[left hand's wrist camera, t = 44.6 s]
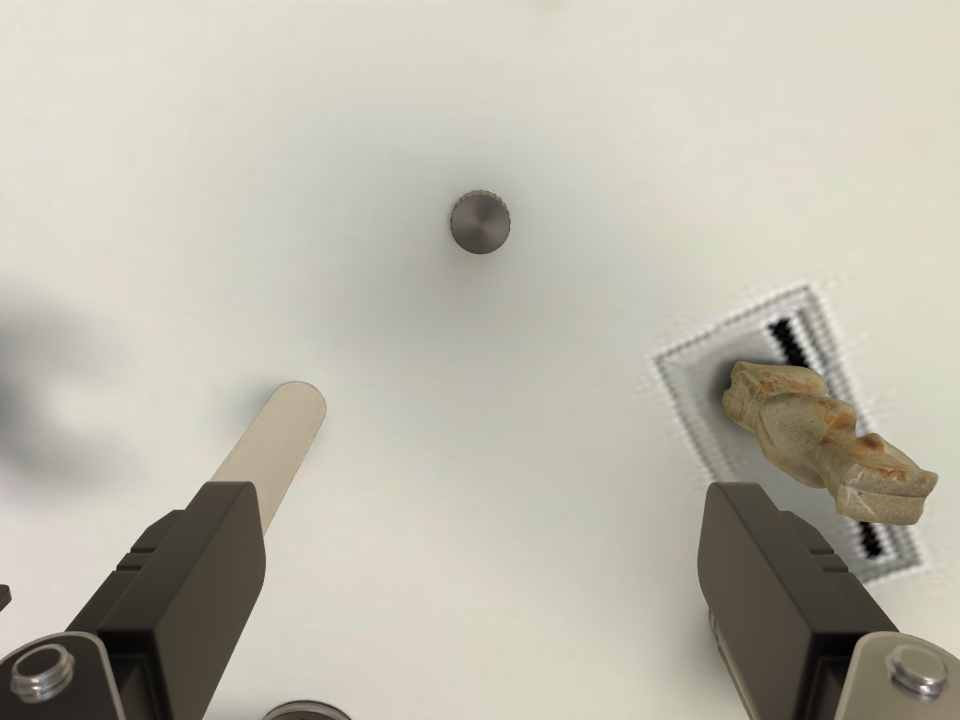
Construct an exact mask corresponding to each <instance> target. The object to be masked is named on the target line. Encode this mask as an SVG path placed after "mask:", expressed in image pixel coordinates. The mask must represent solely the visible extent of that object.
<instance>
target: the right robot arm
mask: <svg viewBox="0 0 960 720" xmlns="http://www.w3.org/2000/svg"><path fill="white" fill-rule="evenodd" d="M11 600H12V597H11V593H10V589H9V586H7V585H1V584H0V612H1V611H2V610H3V609H4V608H5V607H6V606H7V605H8V603H9V602H10V601H11ZM264 720H349V719H348V718H347V717H346V716H345V715H343V714H342V713H340V712H339V711H337V710H335V709H333V708H331V707H328V706H325V705H322V704H317V703H310V702H299V703H292V704H287V705H284V706H281V707H279V708H277V709H275V710H274V711H272V712H271V713H269V714H268V715H267V716H266V717H265V719H264Z"/></svg>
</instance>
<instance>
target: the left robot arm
mask: <svg viewBox="0 0 960 720" xmlns="http://www.w3.org/2000/svg"><path fill="white" fill-rule="evenodd" d="M697 564H698V576H699V582H700V586H701V589H702V592H703V595H704V597H705V599H706V601H707V603H708V605H709V608H710V624H711V627H712V630H713V632H714V634H715V637H716V639H717V641H718V642H719V647H718V649H719V652H720V654H721V656H722V658H723V661H724V663H725V665H726V667H727V670H728V672H729V674H730V676H731V679H732V681H733V683H734V685H735V688H736V690H737V692H738V694H739V697H740V699H741V701H742V703H743V706H744V708H745V710H746V712H747V715H748V717H749V719H750V720H960V660H959V659H957V658H956V657H955V656H953V655H952V654H950V653H949V652H947V651H946V650H944V649H942V648H940V647H939V646H937V645H935V644H933V643H930V642H928V641H926V640H924V639H921V638H918V637H915V636H912V635H908V634H904V633H900V631H899V630H898V629H897V628H896V627H895V625H894V624H893V623H892V622H891V620H890V619H889V618H888V617H887V615H886V614H885V613H884V612H883V610H882V609H881V608H880V607H879V605H878V604H877V603H876V602H875V601H874V599H873V598H872V597H871V596H870V594H869V593H868V592H867V591H866V589H865V588H864V587H863V586H862V584H861V583H860V582H859V581H858V580H857V578H856V577H855V576H854V575H853V573H852V572H848V567H847V566H846V565H845V563H844V562H843V561H842V560H841V559H840V557H839V556H838V555H837V554H834V550H833V549H832V547H831V546H830V545H829V544H828V542H827V541H826V540H825V539H824V537H823V536H822V535H821V534H820V533H819V531H818V530H817V529H816V528H814V527H813V526H811V525H810V524H808V523H807V522H805V521H804V520H802V519H801V518H800V517H798V516H797V515H795V514H794V513H792V512H791V511H779V510H778V509H777V507H776V506H775V505H774V503H773V502H772V501H771V499H770V498H769V497H768V495H767V494H766V493H765V491H764V490H763V489H762V487H761V486H760V485H759V484H757V483H755V482H714V483H711V484H710V486H709V488H708V490H707V495H706V501H705V508H704V515H703V522H702V529H701V536H700V543H699V550H698V561H697ZM265 568H266V555H265V547H264V540H263V533H262V526H261V519H260V512H259V504H258V497H257V491H256V488H255V486H254V484H253V483H252V482H251V481H208V482H206V483H205V484H204V485H203V486H202V487H201V489H200V490H199V491H198V493H197V494H196V495H195V497H194V498H193V499H192V501H191V502H190V503H189V505H188V506H187V508H186V509H185V510H173V511H171V512H170V513H168V514H167V515H165V516H164V517H163V518H161V519H160V520H158V521H157V522H155V523H154V524H152V525H151V526H149V527H148V528H147V529H146V530H145V531H144V533H143V534H142V535H141V536H140V538H139V539H138V540H137V541H136V543H135V544H134V545H133V546H132V548H131V551H130V553H127V554H126V555H125V556H124V558H123V559H122V560H121V561H120V563H119V564H118V565H117V569H116V571H112V573H111V574H110V575H109V576H108V578H107V579H106V580H105V581H104V583H103V584H102V585H101V586H100V587H99V589H98V590H97V591H96V592H95V594H94V595H93V596H92V597H91V599H90V600H89V601H88V602H87V604H86V605H85V606H84V607H83V609H82V610H81V611H80V612H79V614H78V615H77V616H76V617H75V619H74V620H73V621H72V622H71V624H70V625H69V626H68V627H67V629H66V630H65V631H64V632H61V633H56V634H52V635H48V636H45V637H42V638H39V639H36V640H34V641H32V642H30V643H27V644H25V645H23V646H21V647H20V648H18V649H16V650H14V651H13V652H11V653H10V654H8V655H7V656H5V657H4V658H3V659H1V660H0V720H202V718H203V716H204V714H205V712H206V710H207V708H208V705H209V703H210V701H211V699H212V697H213V694H214V692H215V690H216V688H217V686H218V684H219V681H220V679H221V677H222V675H223V673H224V670H225V668H226V666H227V664H228V662H229V660H230V657H231V655H232V653H233V651H234V649H235V646H236V644H237V642H238V640H239V638H240V636H241V633H242V631H243V629H244V627H245V625H246V622H247V620H248V618H249V616H250V614H251V612H252V609H253V607H254V605H255V603H256V601H257V598H258V596H259V594H260V592H261V589H262V586H263V582H264V577H265Z"/></svg>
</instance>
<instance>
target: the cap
mask: <svg viewBox="0 0 960 720" xmlns="http://www.w3.org/2000/svg"><path fill="white" fill-rule="evenodd" d="M450 222H451V230H452V233H453V237H454V238H455V240H456V242H457V243H458V244H459V245H460V246H461V247H462V248H463V249H465V250H467V251H469V252H471V253H475V254H486V253H490V252H492V251H495V250H496V249H498V248H499V247H500V246H501V245H502V244H503V243H504V241H505V240H506V238H507V237H508V233H509V231H510V223H511V222H510V218H509V212H508V211H507V208H506V204H504V203H503V202H502V200H501V198H499V197H497V196H496V194H493V193H490V192H489V191H482V190H480V191H473V192H471V193H467V194H466V195H465V196H463V197H462V198H460V200H459V201H458V203H456V205H455V208H454V210H453V212H452V217H451V221H450Z"/></svg>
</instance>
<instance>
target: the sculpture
mask: <svg viewBox="0 0 960 720" xmlns="http://www.w3.org/2000/svg"><path fill="white" fill-rule="evenodd" d="M730 378H731V381H732V385H731V388H727V389H726V390H725V391H724V394H723V399H722V404H723V405H724V407H725V409H724V412H725V414H726V415H727V416H728V417H729V418H730V419H731V420H732V421H734V422H735V423H737V424H738V425H739V426H741V427H742V428H744V429H746V430H747V431H749V432H751V433H752V434H755V435H756V436H757V439H758V441H759V444H760V447H761V449H762V452H763V454H764V456H765V457H766V459H767V460H768V461H770V462H771V463H772V464H774V465H775V466H777V467H778V468H779V469H781V470H782V471H784V472H785V473H787V474H788V475H790V476H791V477H793V478H794V479H796V480H797V481H799V482H801V483H802V484H804V485H806V486H809V487H812V488H826V487H827V489H828V491H829V493H830V494H831V495H832V497H833V498H834V499H835V503H836V508H837V511H838V513H839V514H840V515H845V516H848V517H850V518H853V519H856V520H860V521H865V522H873V523H886V524H893V525H900V526H905V525H913V524H915V523H917V522H918V520H919V518H920V516H921V515H922V513H923V506H924V501H925V499H926V497H927V496H928V495H929V494H930V492H931V491H932V490H933V488H934V487H935V485H936V483H937V481H938V475H937V474H936V473H933V472H929V471H925V470H923V469H920V468H919V467H918V466H917V465H916V464H915V463H914V462H913V461H912V460H911V459H910V458H909V457H908V456H906V455H905V454H904V453H903V452H902V451H900V450H898V449H897V448H895V447H894V446H892V445H891V444H889V443H888V442H887V441H886V440H884V439H883V438H882V437H881V436H880V435H879V434H877V433H870V434H867V435H865V436H862V437H856V435H855V427H856V411H855V409H854V408H853V406H852V405H850V404H849V403H847V402H844V401H842V400H838V399H835V398H832V397H826V396H825V394H826V392H827V385H826V382H825V380H824V379H823V377H822V376H821V375H820V374H818V373H817V372H815V371H813V370H810V369H807V368H804V367H798V366H787V365H760V364H753V363H749V362H747V361H739V362H737V363H736V364H735V365H734V368H733V370H732V372H731V375H730Z"/></svg>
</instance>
